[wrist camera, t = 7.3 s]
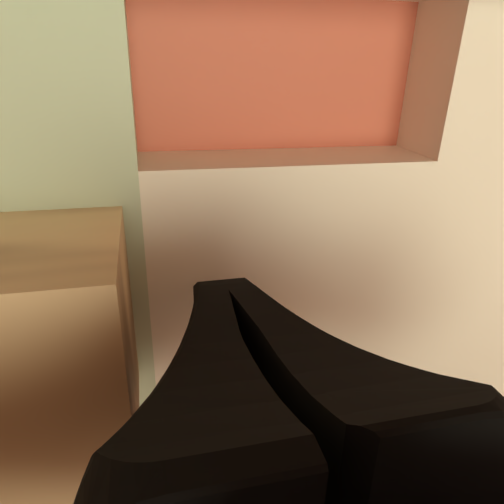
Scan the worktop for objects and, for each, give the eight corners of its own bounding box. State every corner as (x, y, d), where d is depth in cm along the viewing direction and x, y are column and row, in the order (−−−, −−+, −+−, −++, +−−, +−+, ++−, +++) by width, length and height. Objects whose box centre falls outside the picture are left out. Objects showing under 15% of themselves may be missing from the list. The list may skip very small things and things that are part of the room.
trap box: (524, 388, 21) (600, 457, 18) (-36, 483, 16) (-84, 607, 13) (665, -13, 14) (836, -31, 11) (-232, -77, 9) (-461, -152, 6)
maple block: (138, 371, 13) (140, 495, 9) (-57, 396, 12) (-140, 548, 8) (122, 205, 11) (116, 284, 7) (-118, 218, 10) (-263, 317, 6)
